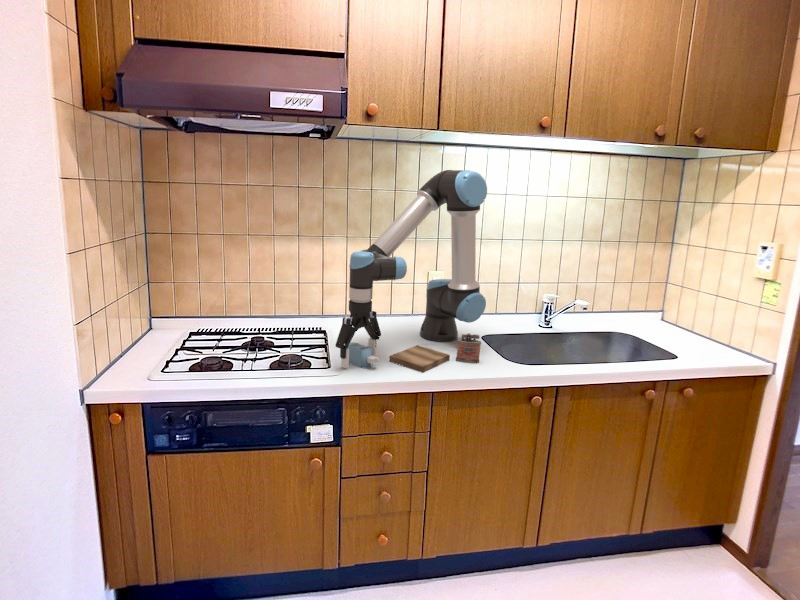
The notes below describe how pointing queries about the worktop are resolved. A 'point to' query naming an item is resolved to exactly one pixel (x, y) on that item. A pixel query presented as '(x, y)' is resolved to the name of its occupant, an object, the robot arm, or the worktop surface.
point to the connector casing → (361, 355)
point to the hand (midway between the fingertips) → (358, 362)
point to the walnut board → (419, 358)
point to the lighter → (468, 349)
